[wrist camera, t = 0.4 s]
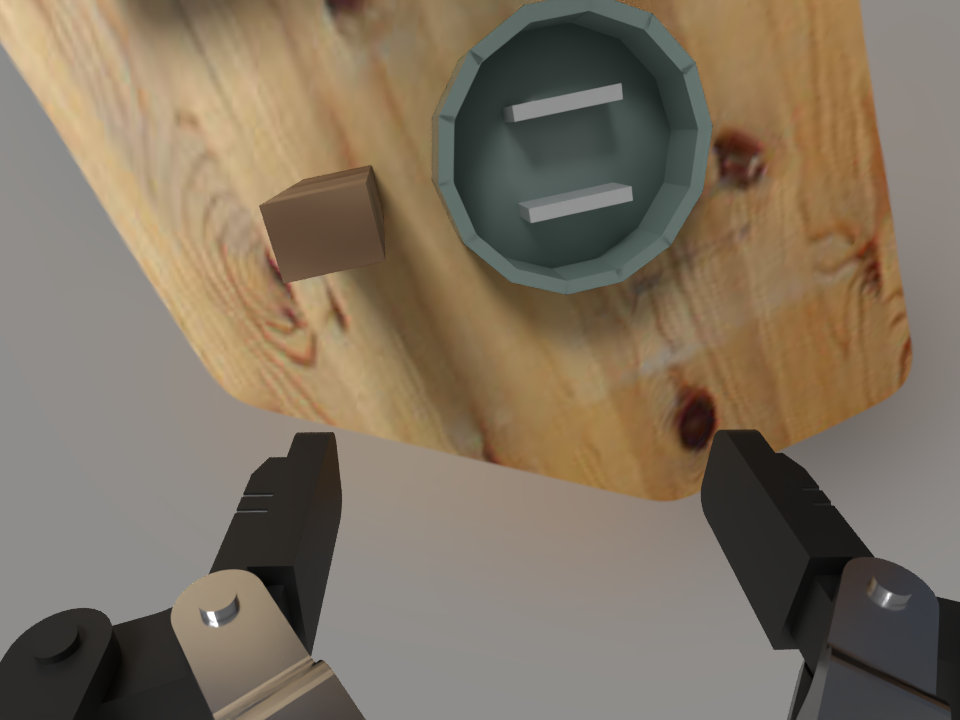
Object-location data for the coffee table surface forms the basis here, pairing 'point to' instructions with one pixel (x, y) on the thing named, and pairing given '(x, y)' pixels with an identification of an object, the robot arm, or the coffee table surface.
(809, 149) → the coffee table surface
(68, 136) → the coffee table surface
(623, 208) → the slotted round holder
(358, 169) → the tall wooden post
